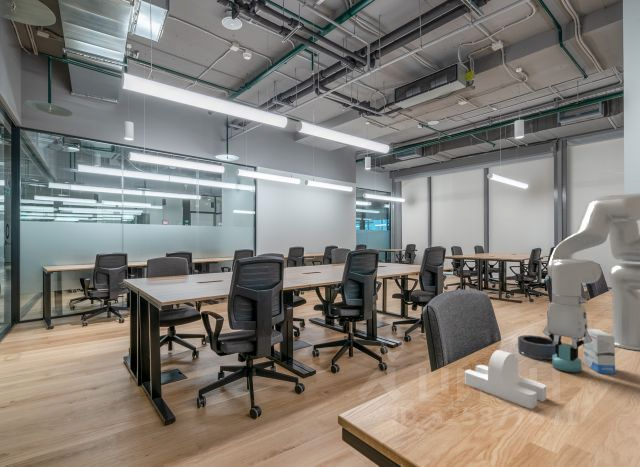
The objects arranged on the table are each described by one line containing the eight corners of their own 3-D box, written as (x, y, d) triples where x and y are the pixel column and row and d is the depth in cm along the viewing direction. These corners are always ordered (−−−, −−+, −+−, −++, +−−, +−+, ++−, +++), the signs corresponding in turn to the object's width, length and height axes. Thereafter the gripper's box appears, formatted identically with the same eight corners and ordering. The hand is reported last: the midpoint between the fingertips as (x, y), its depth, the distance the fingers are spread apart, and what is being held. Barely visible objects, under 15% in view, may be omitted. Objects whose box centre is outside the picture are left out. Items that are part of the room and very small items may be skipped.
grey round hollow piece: (526, 346, 131) (526, 333, 131) (563, 355, 121) (563, 341, 121) (512, 353, 123) (512, 339, 123) (550, 363, 114) (550, 348, 114)
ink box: (616, 374, 105) (616, 336, 105) (597, 373, 106) (597, 335, 106) (599, 364, 113) (599, 328, 113) (582, 363, 114) (582, 327, 114)
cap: (557, 361, 114) (557, 340, 114) (585, 368, 108) (584, 346, 108) (548, 366, 110) (548, 344, 110) (576, 374, 104) (576, 351, 104)
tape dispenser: (531, 410, 84) (531, 366, 84) (463, 384, 98) (463, 346, 98) (547, 399, 89) (547, 357, 89) (480, 376, 104) (480, 340, 104)
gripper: (602, 302, 104) (602, 362, 105) (542, 295, 118) (542, 348, 118) (594, 306, 100) (594, 369, 100) (533, 297, 113) (533, 353, 113)
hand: (566, 357), depth 109 cm, fingers closed on cap, 3 cm apart
